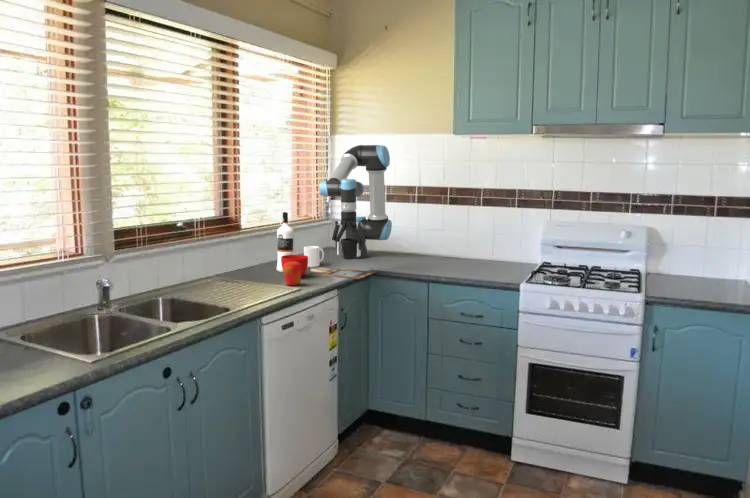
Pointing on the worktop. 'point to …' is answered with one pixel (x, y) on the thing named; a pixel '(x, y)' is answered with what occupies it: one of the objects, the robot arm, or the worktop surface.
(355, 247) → the mug
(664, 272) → the worktop surface
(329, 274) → the brown wooden frame
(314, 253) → the cup
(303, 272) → the ceramic cup
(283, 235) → the vodka
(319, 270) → the coaster
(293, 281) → the apple
